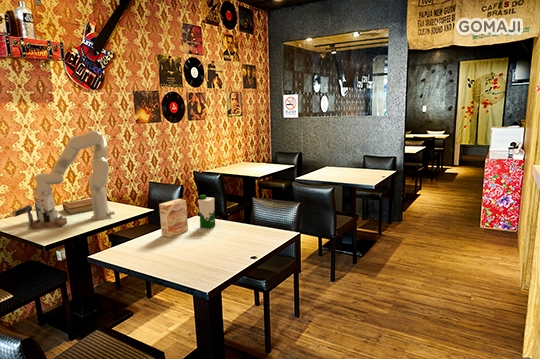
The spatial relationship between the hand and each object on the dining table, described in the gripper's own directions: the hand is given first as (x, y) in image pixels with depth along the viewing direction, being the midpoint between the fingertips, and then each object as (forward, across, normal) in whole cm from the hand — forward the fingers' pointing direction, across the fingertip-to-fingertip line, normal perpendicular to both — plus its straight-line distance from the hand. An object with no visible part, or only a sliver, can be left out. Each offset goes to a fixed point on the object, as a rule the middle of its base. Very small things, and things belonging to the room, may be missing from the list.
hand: (48, 219), depth 247 cm
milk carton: (+5, -19, -103) cm, 105 cm away
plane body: (+4, 0, 0) cm, 4 cm away
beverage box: (+5, +16, +9) cm, 19 cm away
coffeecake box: (+5, -28, -84) cm, 89 cm away
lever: (-7, -6, +12) cm, 15 cm away
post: (+4, 0, +11) cm, 12 cm away
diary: (+5, +39, -7) cm, 40 cm away
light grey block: (0, 0, 0) cm, 0 cm away
